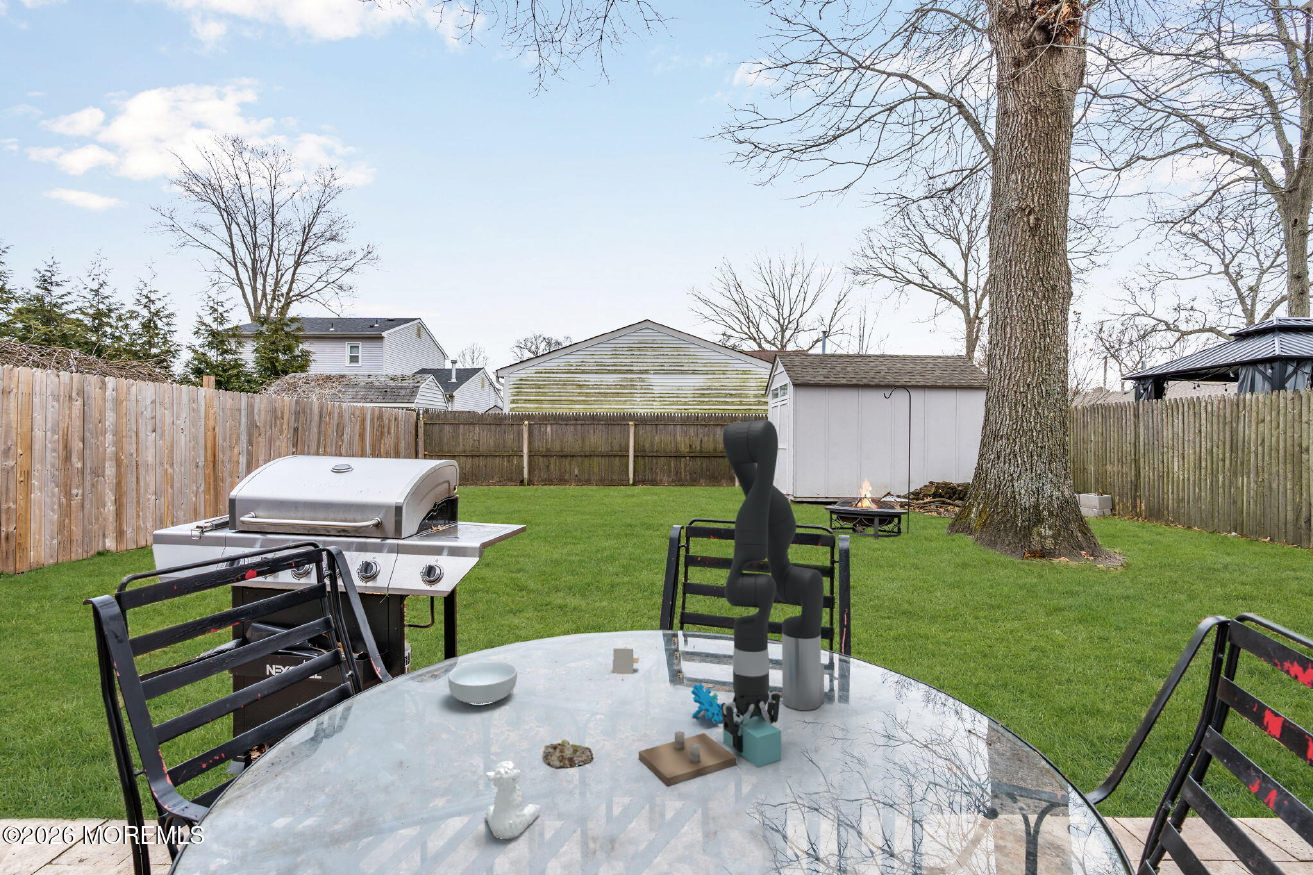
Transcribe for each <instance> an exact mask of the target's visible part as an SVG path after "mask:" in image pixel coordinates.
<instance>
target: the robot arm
mask: <svg viewBox="0 0 1313 875" xmlns="http://www.w3.org/2000/svg"><path fill="white" fill-rule="evenodd" d="M722 445H723V450H724V452H725V455H726V458H727V460H728V463H729V465H730V467H731V469H732V471H733V473H734V475H735V477H736V479H737V481H738V483H739V486H740V488H741V491H742V492H743V495H744V497H745V498H744V500H743V502H742V504H741V506H740V507H739V510H738V511H737V514H736V518H735V524H734V546H733V547H734V549H733V556H732V557H733V558H732V561H731V562H732V563H731V567H730V570H729V573H728V576H727V579H726V583H725V586H724V596H725V599H726V602H727V603H728V604H729V605H731V607H740V608H753V609H754V608H757V609H758V611H757V612H756V613H754V614H750V615H744V616H741V617H738V618H736V619H735V620H734V623H733V654H732V688H733V692H734V696H733V699H732V701H731V702H729V703H728V702H727V703H726V702H722V703H720V704H721V711H722V718H723V721H722V726H724V730H725V731H727V732H729V733H730V734H731V735H733V748H734V749H735V750H736V751H737V752H739V753H741V752H743V735H742V733H743V728H744V727H745V726H746V725H747V724H748V721H749V719H751V718H752V717H758V718H762V719H763V721H764V722H768V723H770V724H771V725H773V723H777V722H778V720H779V714H780V703H781V695H780V694H779V693H777V692H776V691H774V690H770V655H769V647H768V645H769V643H768V641H769V640H768V638H769V636H768V634H769V632H768V631H769V621H770V617H771V612H772V609H773V606H774V602H775V598H776V596H777V598H778V600H779V601H780V602H783V603H784V604H787V605H793V606H799V607H801V614H799V615H794V616H790V617H787V618H785V619H784V620H783V621H782V625H781V630H782V631H781V637H782V638H781V641H782V643H781V646H782V648H781V652H782V653H781V654H782V657H781V659H782V664H781V666H782V674H781V675H782V676H781V677H782V678H781V679H782V680H781V681H782V683H781V684H782V687H781V688H782V689H781V690H782V691H781V692H782V703H783V705H785V706H786V707H788V708H789V709H793V710H798V711H811V710H812V711H813V710H815V709H818V708H820V707H821V705H822V704H824V703H825V666H824V663H821V662H822V655H821V654H822V650H821V648H822V643H821V642H822V641H821V640H822V639H821V638H822V635H821V632H822V629H821V628H822V623H823V608H824V588H825V587H824V578H823V575H822V573H821V572H820V571H819V570H817V569H815V568H814V569H813V568H809V567H808V568H807V567H800V566H795V565H793V564H792V563H791V561H790V558H789V555H788V552H789V549H790V547H791V544H792V542H793V541H794V537H795V535H796V531H797V521H796V517H795V514H794V512H793V509H792V506H791V503H790V500H789V499H788V498H787V497H786V494H784V493H783V492H782V491H781V490H780V489H779V488H777V487H776V486H775V485H774V483H775V482H774V481H775V473H776V467H777V461H778V460H777V459H778V452H779V451H778V450H779V437H778V432H777V429H776V426H775V425H774V423H773V422H771V420H767V419H763V420H762V419H760V420H759V419H757V420H748V421H738V422H732V423H729V424H727V425H725V428H724V429H723V432H722ZM766 559H767V560H766ZM765 560H766V561H767V563H768V568H769V573H770V574H768V573H763V572H762V573H760V572H758V573H755V572H743V571H744V568H745V567H746V566H747V565H748V564H752V563H758V562H762V561H765ZM766 706H767V708H766ZM733 714H734V716H733ZM740 715H741V716H743V719H742V718H741V717H740ZM738 724H739V726H738ZM735 750H734V751H735ZM736 751H735V752H736ZM737 752H736V753H737ZM739 753H738V754H739Z"/></svg>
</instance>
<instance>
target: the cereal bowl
mask: <svg viewBox="0 0 1313 875" xmlns="http://www.w3.org/2000/svg"><path fill="white" fill-rule="evenodd" d="M517 678H518V670H517V667H516V666H515V665H514V664H512V663H509V662H505V661H498V660H497V661H496V660H484V661H483V660H482V661H474V662H470V663H465V664H462V665H460V666H458V667H456V668H454V669H452V670H451V671H450V672H449V674H448V688H449V691H450V693H451V695H452V696H453V697H454V698H455V699H457V700H459V701H460V702H462V701H463V703H466V702H467V704H468V703H474V704H475V703H476V704H481V703H482V704H483V703H489V702H494V701H496V702H498V701H499V700H501V699H502V700H503V699H504V698H506V697H507V696H508V695H510V694H511V692H512V691H514V689H515V688H516V683H517ZM497 700H498V701H497Z"/></svg>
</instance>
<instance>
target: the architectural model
mask: <svg viewBox="0 0 1313 875" xmlns="http://www.w3.org/2000/svg"><path fill="white" fill-rule="evenodd" d="M627 647H628V646H625V647H623V648H619V647H617V648H615V647H613V655H612V657H613V659H612V674H614V673H617V674H619V675H620V674H622V675H623V674H625V675H634V664H639V661H640V657H634V648H627ZM617 674H616V675H617Z"/></svg>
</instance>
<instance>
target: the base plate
mask: <svg viewBox="0 0 1313 875" xmlns="http://www.w3.org/2000/svg"><path fill="white" fill-rule="evenodd" d="M638 759H639V760H640V761H641V762H642V763H643V764H644V765H645V766H646V767H647V769H649V770H650V771H651V772H652V773H653V774H654V775H656V776H657V777H658V779H660V781H662V782H663V783H664V784H665V785H667V786H668V787H669V786H672V785H676V784H679V783H682V782H686V781H688V780H691V779H695V778H698V777H701V776H704V775H707V774H711V773H713V772H717V771H721V770H723V769H726V768H729V767H732V766H736V765H737V762H738V761H737V756H736V755H735V754H733V753H732V752H730V751H729V750H727V749H726V747H723V745H721V744H720V743H718V742H717V741H715V740H714V739H713V738H711V737H710V736H709V735H707V734H706V733H704V732H703V733H699V734H696V735H692V736H689V737H686V738H685V732H684V731H679V730H678V731H675V732H674V741H670V742H668V743H663V744H660V745H656V746H652V747H650V748H649V747H648V748H646V749H642V750H639V751H638Z"/></svg>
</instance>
